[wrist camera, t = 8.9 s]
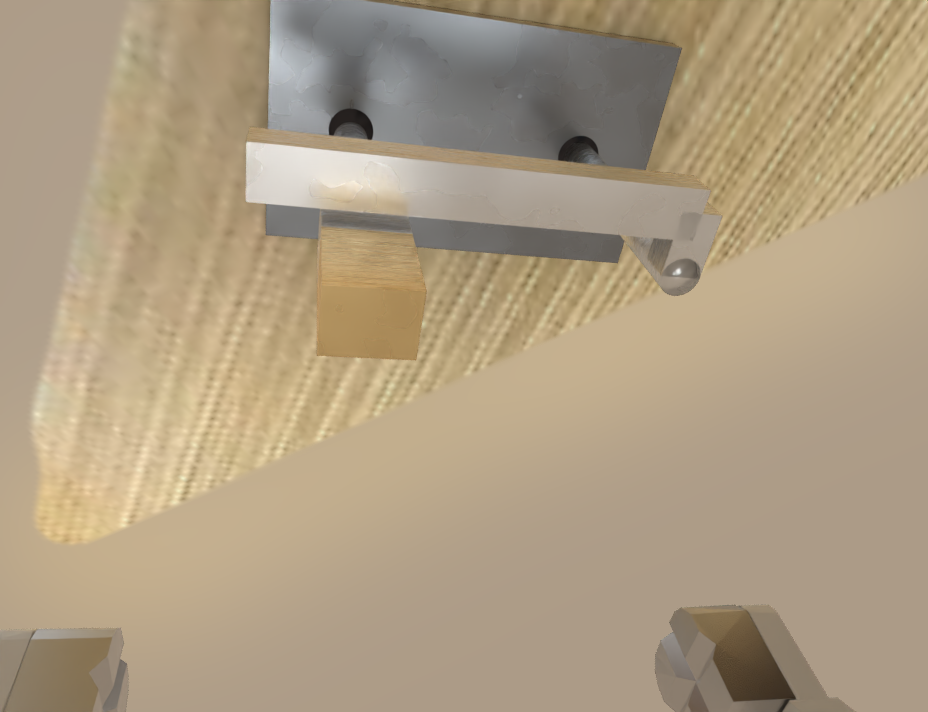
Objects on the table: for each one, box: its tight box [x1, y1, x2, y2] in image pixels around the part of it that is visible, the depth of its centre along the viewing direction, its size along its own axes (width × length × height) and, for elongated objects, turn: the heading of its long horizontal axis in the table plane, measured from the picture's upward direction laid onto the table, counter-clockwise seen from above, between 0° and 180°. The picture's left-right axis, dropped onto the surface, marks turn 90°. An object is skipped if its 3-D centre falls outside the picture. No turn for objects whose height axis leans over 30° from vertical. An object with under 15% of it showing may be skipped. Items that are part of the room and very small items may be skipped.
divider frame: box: [246, 127, 722, 296], centre depth 32 cm, size 17×4×14 cm, turn 81°
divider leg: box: [317, 122, 427, 360], centre depth 29 cm, size 3×2×18 cm
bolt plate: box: [266, 0, 682, 263], centre depth 39 cm, size 20×12×1 cm, turn 81°
